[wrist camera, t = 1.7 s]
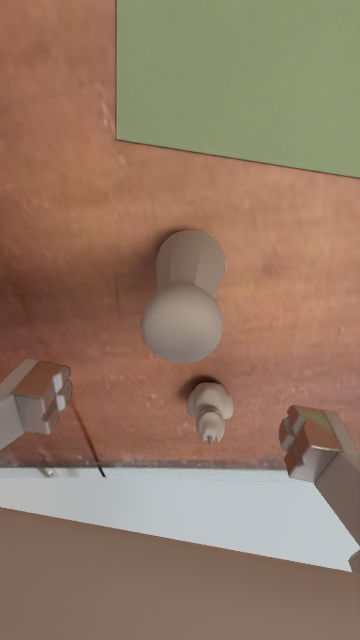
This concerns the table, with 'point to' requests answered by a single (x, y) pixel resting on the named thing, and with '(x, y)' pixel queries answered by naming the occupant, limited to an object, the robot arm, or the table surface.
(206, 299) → the salt shaker
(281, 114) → the desk mat
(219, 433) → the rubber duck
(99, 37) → the table surface
